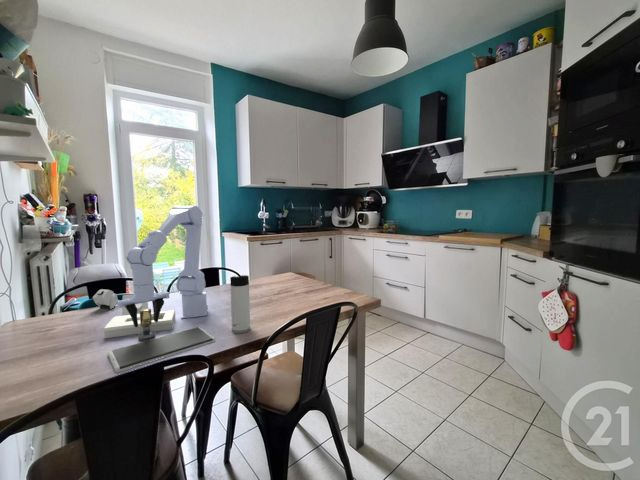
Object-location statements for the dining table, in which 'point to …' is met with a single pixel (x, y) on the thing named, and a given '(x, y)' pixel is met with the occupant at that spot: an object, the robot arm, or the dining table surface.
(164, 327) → the keyhole board
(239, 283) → the travel mug
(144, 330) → the peg
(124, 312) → the light switch
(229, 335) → the dining table surface
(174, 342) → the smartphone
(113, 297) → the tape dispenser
